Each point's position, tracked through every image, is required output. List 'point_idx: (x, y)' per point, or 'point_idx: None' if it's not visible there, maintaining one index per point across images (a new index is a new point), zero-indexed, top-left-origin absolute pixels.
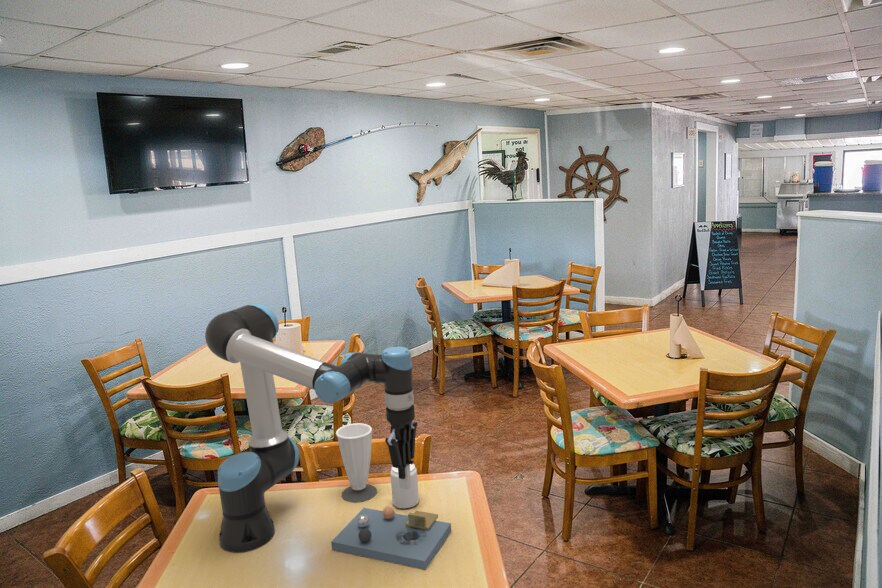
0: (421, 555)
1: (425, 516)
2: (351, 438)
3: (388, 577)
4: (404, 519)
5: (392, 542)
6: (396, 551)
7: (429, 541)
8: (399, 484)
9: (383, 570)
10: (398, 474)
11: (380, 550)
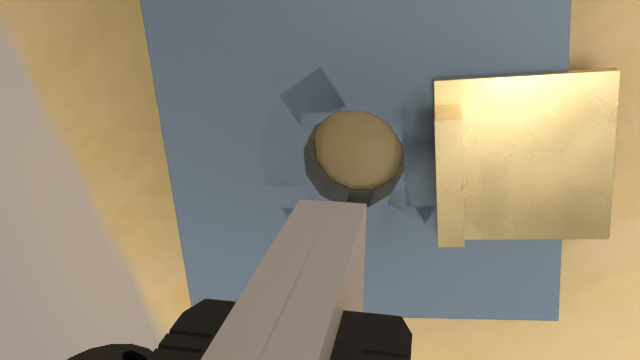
0: (223, 281)
1: (456, 245)
2: None
3: (93, 159)
4: (512, 24)
5: (253, 84)
6: (194, 147)
7: None
8: (290, 216)
9: (119, 111)
10: (166, 335)
11: (161, 57)
